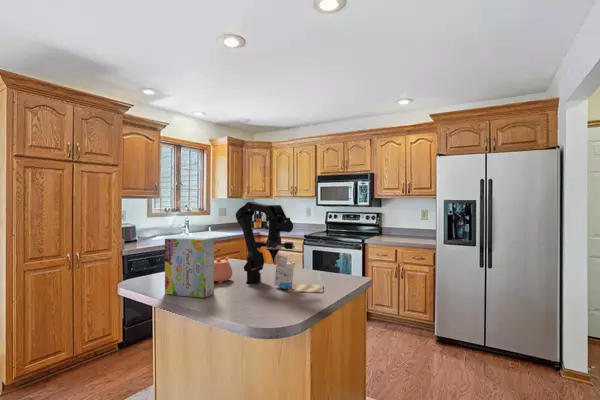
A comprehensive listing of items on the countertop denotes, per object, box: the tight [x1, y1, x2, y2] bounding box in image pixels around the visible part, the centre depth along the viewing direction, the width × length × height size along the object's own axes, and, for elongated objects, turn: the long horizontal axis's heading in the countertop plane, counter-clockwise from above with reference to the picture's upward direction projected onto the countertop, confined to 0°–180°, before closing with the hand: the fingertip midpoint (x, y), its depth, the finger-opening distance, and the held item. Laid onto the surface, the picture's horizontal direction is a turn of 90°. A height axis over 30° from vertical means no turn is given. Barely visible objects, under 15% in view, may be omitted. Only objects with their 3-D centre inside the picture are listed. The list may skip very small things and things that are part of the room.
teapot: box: [214, 256, 233, 284], centre depth 178 cm, size 13×20×12 cm, turn 164°
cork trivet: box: [287, 283, 324, 294], centre depth 161 cm, size 16×13×1 cm
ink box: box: [274, 254, 295, 290], centre depth 162 cm, size 8×5×15 cm, turn 39°
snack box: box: [164, 236, 215, 299], centre depth 152 cm, size 22×9×26 cm, turn 71°
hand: (273, 262), depth 163 cm, fingers closed
